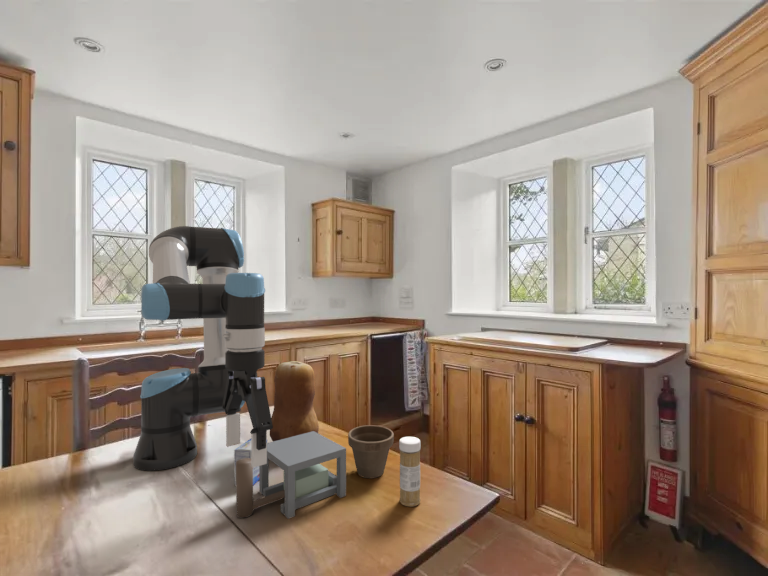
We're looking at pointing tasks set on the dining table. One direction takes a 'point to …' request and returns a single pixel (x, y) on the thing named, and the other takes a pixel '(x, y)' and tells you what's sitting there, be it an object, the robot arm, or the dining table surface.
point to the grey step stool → (299, 456)
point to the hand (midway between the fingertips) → (245, 454)
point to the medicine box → (245, 452)
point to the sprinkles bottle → (409, 471)
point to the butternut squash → (293, 401)
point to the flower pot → (370, 449)
